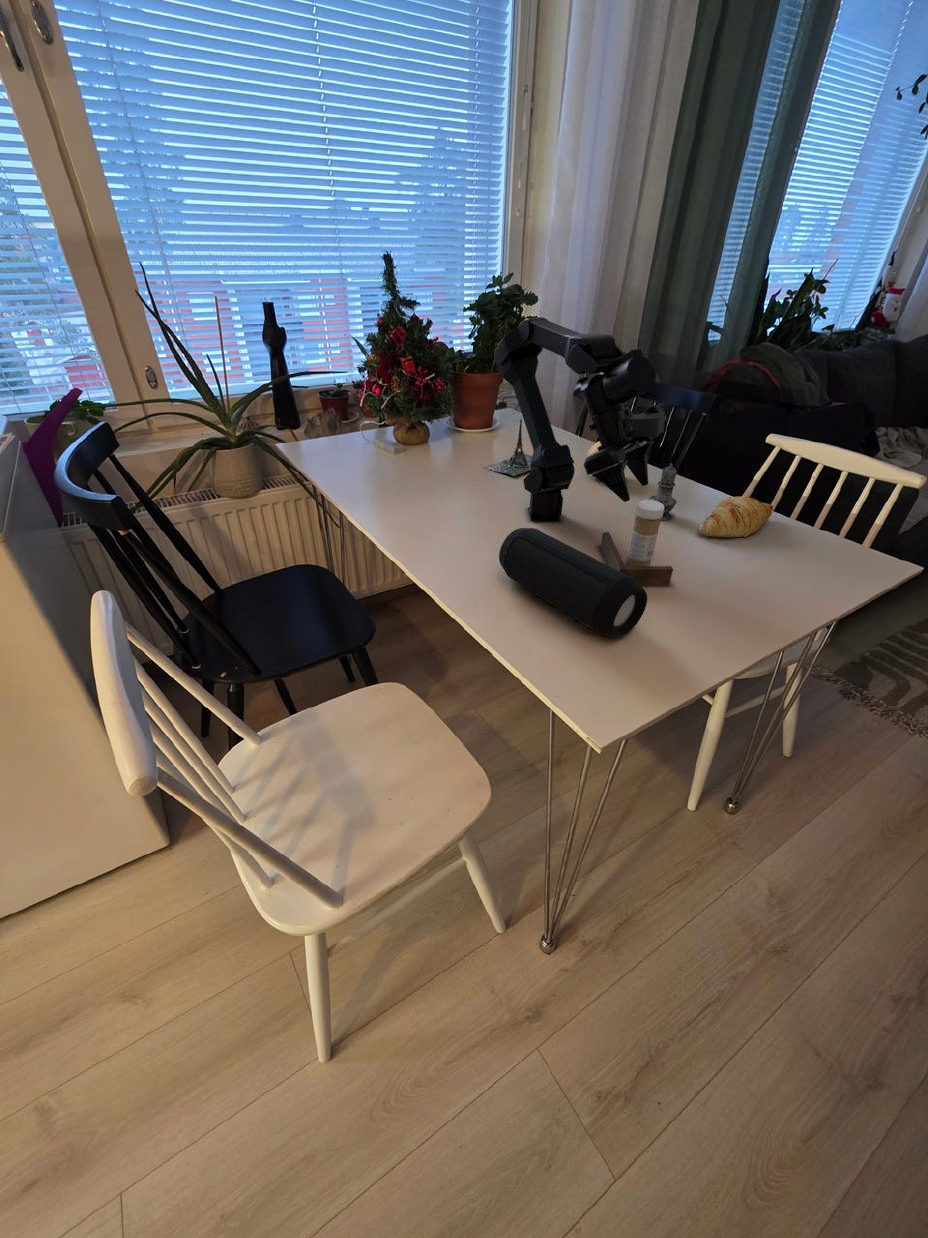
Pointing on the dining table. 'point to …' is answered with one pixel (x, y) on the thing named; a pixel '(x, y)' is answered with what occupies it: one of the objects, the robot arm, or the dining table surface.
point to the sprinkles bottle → (644, 533)
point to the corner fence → (639, 573)
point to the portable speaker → (573, 581)
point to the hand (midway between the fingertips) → (636, 492)
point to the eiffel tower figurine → (515, 460)
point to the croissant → (736, 517)
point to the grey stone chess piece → (666, 491)
